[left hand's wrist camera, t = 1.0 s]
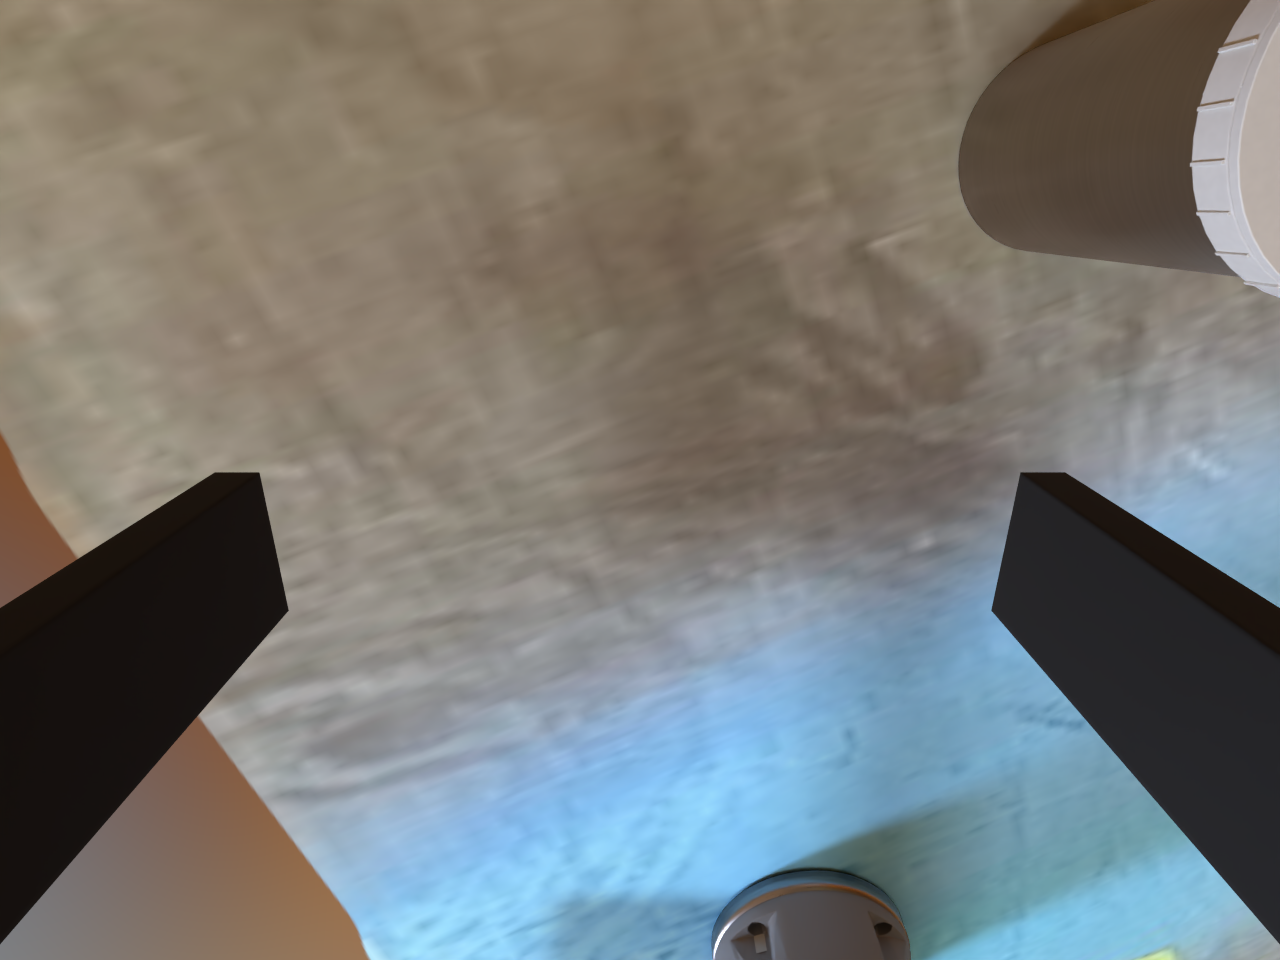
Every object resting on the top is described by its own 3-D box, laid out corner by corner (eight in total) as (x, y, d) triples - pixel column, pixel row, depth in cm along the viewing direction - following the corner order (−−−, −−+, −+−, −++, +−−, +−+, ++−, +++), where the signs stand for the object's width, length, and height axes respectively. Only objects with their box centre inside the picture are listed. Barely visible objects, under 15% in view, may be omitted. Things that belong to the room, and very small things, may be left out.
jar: (1197, 88, 34) (1741, -24, 17) (1081, 280, 38) (1443, 342, 21) (1027, 1, 33) (1436, -212, 16) (922, 207, 37) (1169, 211, 19)
